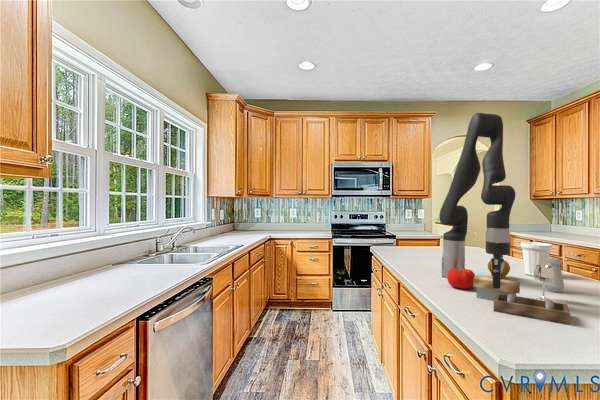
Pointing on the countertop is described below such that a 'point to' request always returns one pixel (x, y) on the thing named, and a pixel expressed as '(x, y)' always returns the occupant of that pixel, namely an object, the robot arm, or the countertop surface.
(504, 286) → the board
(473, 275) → the tomato
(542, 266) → the wineglass
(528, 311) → the peg frame
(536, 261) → the cup
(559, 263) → the salt shaker
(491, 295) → the stand
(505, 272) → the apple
